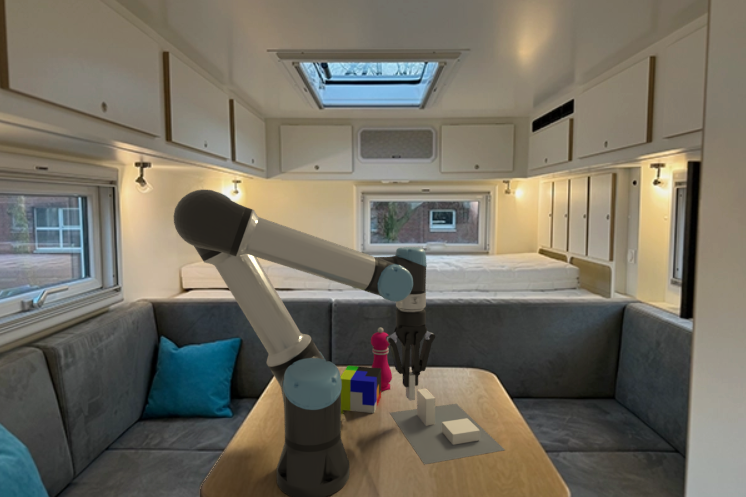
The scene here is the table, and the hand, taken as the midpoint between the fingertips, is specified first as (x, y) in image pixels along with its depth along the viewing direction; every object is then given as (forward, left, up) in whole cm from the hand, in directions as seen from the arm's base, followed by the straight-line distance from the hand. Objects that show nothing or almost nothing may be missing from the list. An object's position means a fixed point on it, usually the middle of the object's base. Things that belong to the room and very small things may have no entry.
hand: (410, 397), depth 108 cm
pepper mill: (+20, +11, -8) cm, 24 cm away
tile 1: (+2, -4, -6) cm, 8 cm away
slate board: (-3, -8, -8) cm, 12 cm away
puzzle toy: (+8, +15, -8) cm, 19 cm away
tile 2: (-7, -9, -5) cm, 13 cm away
